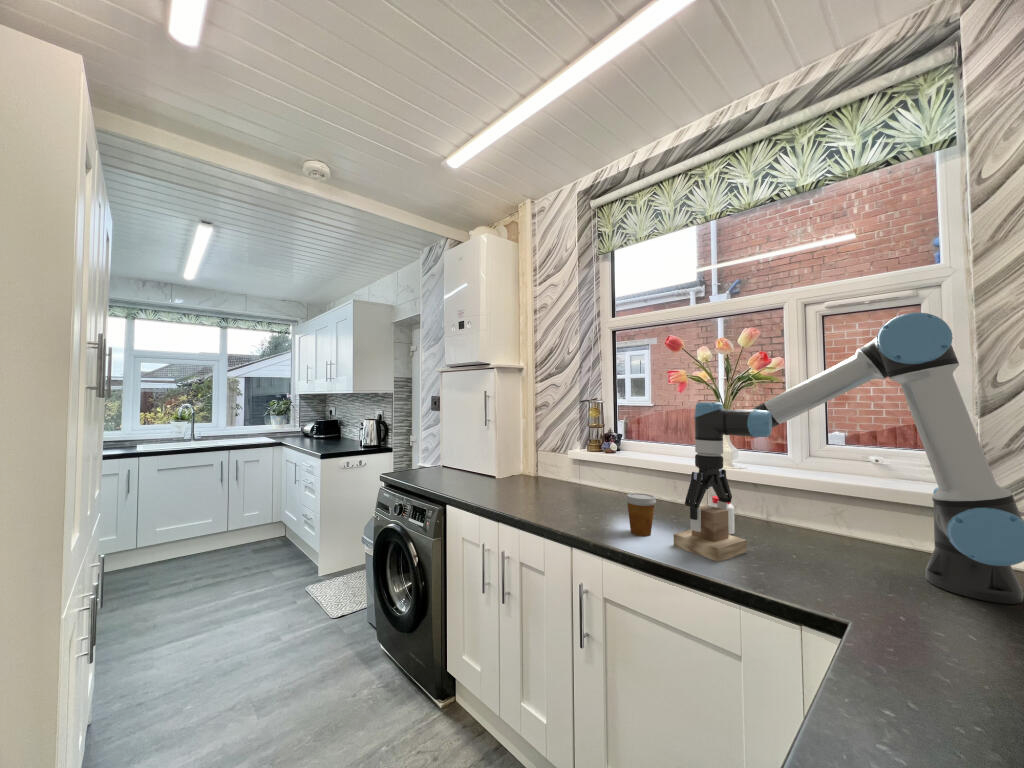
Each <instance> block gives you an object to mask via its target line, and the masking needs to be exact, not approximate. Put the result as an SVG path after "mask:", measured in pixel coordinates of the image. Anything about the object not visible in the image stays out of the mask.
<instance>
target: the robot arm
mask: <svg viewBox="0 0 1024 768" xmlns="http://www.w3.org/2000/svg"><path fill="white" fill-rule="evenodd" d="M952 343H953V332H952V329H951V328H950V326H949V325H948V323H947V322H946V321H945V320H943V319H942V318H940V317H939V316H936V315H933V314H931V313H927V312H907V313H904V314H899V315H897V316H895V317H894V318H892V319H890V320H888V321H887V322H885V323H884V324H883V325H882V326H881V327H880V329H879V330H878V332H877V334H876V337H874V338H873V339H872V340H871V341H870V342H868V343H867V344H865V345H863V346H861V347H859V348H857V349H856V352H855V354H854V355H852V356H850V357H849V358H847V359H845V360H843V361H841V362H839V363H838V364H836V365H833V366H832V367H829V368H827V369H826V370H824V371H822V372H820V373H818V374H816V375H814V376H812V377H811V378H808V379H807V380H805V381H803V382H800V383H799V384H797V385H795V386H793V387H792V388H789V389H788V390H786V391H784V392H782V393H780V394H778V395H775V396H774V397H772V398H770V399H769V400H767V401H764V402H763V403H760V404H758V405H756V406H755V407H753V408H751V409H726V408H724V404H723V403H722V402H715V401H714V402H709V401H706V402H702V401H701V402H700V401H699V402H698V403H696V404H695V408H694V409H695V410H694V411H695V412H694V433H695V435H694V439H695V440H694V441H695V442H694V444H695V445H694V447H695V448H694V452H695V453H697V454H695V455H694V465H695V467H696V468H698V472H697V471H692V472H691V477H690V478H691V479H690V482H689V486H688V489H687V493H686V497H685V501H684V505H685V506H686V507H689V518H690V523H689V524H690V525H689V526H690V529H689V530H693V531H697V532H701V508H699V506H701V503H702V501H703V498H704V496H705V494H706V491H707V490H709V489H710V488H712V489H713V492H714V493H715V496H717V497H718V499H719V500H720V501H717V508H720V509H725V510H727V502H729V503H731V504H732V500H733V495H732V493H731V488H730V485H729V482H728V478H727V471H726V469H724V456H723V454H724V436H737V437H751V438H755V439H756V438H769V437H770V436H771V434H772V432H773V428H775V427H777V426H779V425H781V424H783V423H786V422H788V421H789V420H791V419H793V418H796V417H798V416H800V415H802V414H804V413H806V412H808V411H810V410H812V409H814V408H816V407H819V406H820V405H823V404H825V403H827V402H829V401H832V400H833V399H835V398H838V397H839V396H842V395H844V394H846V393H848V392H850V391H852V390H854V389H856V388H859V387H860V386H863V385H865V384H866V383H868V382H871V381H873V380H875V379H879V380H885V379H887V378H889V380H890V381H893V382H895V383H898V384H899V385H900V386H901V387H900V388H901V390H902V392H903V394H904V397H905V400H906V404H907V406H908V408H909V411H910V414H911V416H912V419H913V422H914V424H915V427H916V430H917V432H918V435H919V439H920V441H921V443H922V446H923V448H924V452H925V455H926V457H927V459H928V462H929V466H930V468H931V470H932V473H933V476H934V477H935V481H936V484H937V487H935V488H934V489H933V493H932V497H931V498H932V501H933V528H934V529H933V530H934V532H933V534H934V535H933V537H934V549H933V551H932V554H931V555H930V558H929V561H928V563H927V564H926V567H925V570H924V571H925V575H924V576H925V580H926V581H927V582H928V583H930V584H931V585H933V586H935V587H938V588H940V589H943V590H945V591H947V592H951V593H953V594H957V595H959V596H963V597H968V598H970V599H976V600H980V601H985V602H991V603H995V604H996V603H998V604H1006V605H1014V604H1015V605H1017V604H1023V602H1024V591H1023V588H1022V586H1021V584H1020V581H1019V580H1018V578H1017V576H1016V574H1015V571H1014V570H1013V567H1012V566H1015V565H1018V564H1022V563H1023V562H1024V519H1023V518H1022V515H1021V513H1020V511H1019V509H1018V508H1019V507H1018V505H1017V503H1016V501H1015V498H1014V496H1013V493H1012V492H1011V491H1010V490H1008V489H1005V488H1004V487H1002V486H1000V485H998V484H997V482H996V480H995V476H994V474H993V472H992V469H991V467H990V465H989V461H988V459H987V457H986V454H985V452H984V449H983V446H982V445H981V442H980V440H979V437H978V434H977V431H976V430H975V426H974V425H973V421H972V419H971V417H970V415H969V412H968V408H967V407H966V404H965V402H964V399H963V397H962V394H961V392H960V390H959V387H958V384H957V382H956V379H955V377H954V372H955V371H956V370H957V368H958V367H959V366H960V363H959V359H958V357H957V355H956V353H955V350H954V347H953V345H952Z"/></svg>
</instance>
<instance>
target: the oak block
mask: <svg viewBox="0 0 1024 768" xmlns="http://www.w3.org/2000/svg"><path fill="white" fill-rule="evenodd" d="M747 543H748V542H747V539H745V538H742V537H738V536H735V535H732V534H729V538H728V539H724V540H720V541H716V542H712V541H709V540H706V539H702V538H699V537H696V536H693V535H692V530H690V529H687V530H684V531H680V532H675V533H673V547H675V548H679V549H681V550H683V551H684V550H685V551H688V552H690V553H692V554H696V555H699V556H701V557H704V558H707V559H710V560H713V561H715V562H718V563H720V562H722V561H725V560H728V559H731V558H734V557H737V556H740V555H742V554H743V555H744V554H745V553H747V552H748V550H747V549H748V547H747V546H748V545H747Z"/></svg>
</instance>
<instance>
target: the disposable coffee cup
mask: <svg viewBox="0 0 1024 768" xmlns="http://www.w3.org/2000/svg"><path fill="white" fill-rule="evenodd" d="M625 500H626V503H627V511H628V519H629V528H630V533H631V534H632V535H634V536H639V537H649V536H651V535H652V528H653V520H654V515H655V513H654V512H655V505H656V503H657V500H656V498H655V496H654V495H652V494H647V493H641V492H640V493H639V492H633V493H628V494H627V495H626V498H625Z"/></svg>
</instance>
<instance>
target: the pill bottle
mask: <svg viewBox="0 0 1024 768" xmlns="http://www.w3.org/2000/svg"><path fill="white" fill-rule="evenodd" d="M717 501H720V500H719V499H718V497H717V495H713V496H711V501H710V502H708V506H712V507H716V508H717ZM727 510H728V532H729V535H733V534H735V506H734V505H733V504H732V502H731V503H729V502H727Z"/></svg>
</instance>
